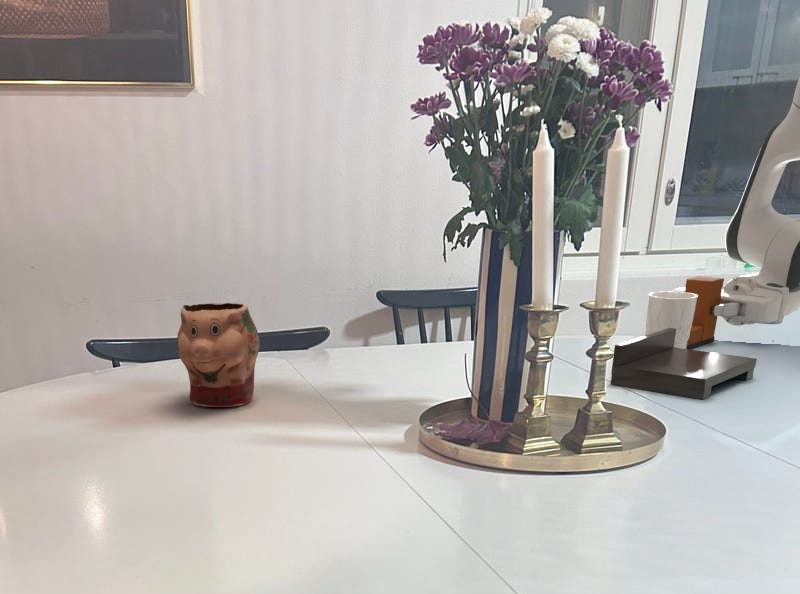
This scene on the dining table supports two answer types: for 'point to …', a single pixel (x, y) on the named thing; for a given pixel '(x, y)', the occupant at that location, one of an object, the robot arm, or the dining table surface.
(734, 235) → the robot arm
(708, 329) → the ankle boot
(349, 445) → the dining table surface
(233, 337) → the decorative planter
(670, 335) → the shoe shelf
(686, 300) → the white cup
